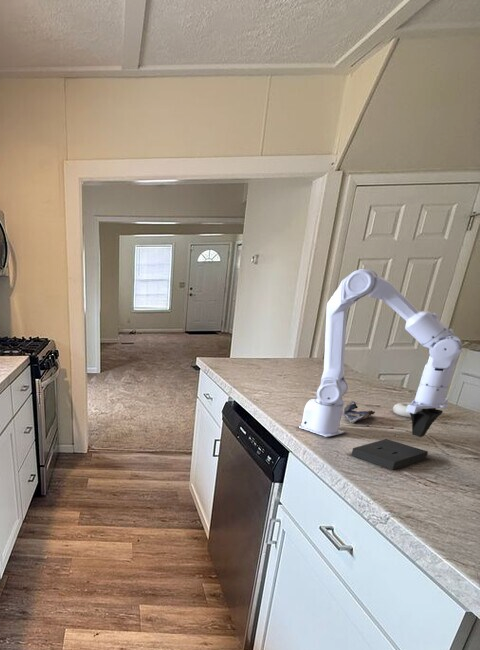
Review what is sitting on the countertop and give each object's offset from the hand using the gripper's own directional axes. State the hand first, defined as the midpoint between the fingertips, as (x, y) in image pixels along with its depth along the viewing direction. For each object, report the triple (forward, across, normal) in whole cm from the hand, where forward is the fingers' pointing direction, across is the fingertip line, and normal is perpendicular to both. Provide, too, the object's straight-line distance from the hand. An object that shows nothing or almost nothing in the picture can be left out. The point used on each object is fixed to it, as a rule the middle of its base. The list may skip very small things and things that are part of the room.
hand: (417, 435), depth 105 cm
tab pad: (+3, -9, 0) cm, 9 cm away
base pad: (+4, -16, 0) cm, 16 cm away
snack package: (+4, +11, +23) cm, 25 cm away
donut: (+4, +30, +17) cm, 34 cm away
